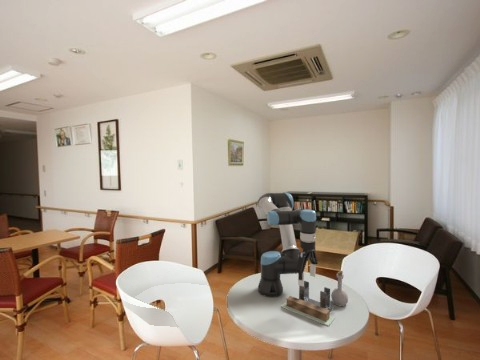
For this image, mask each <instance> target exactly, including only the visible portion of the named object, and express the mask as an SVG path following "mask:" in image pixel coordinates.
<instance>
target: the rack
mask: <svg viewBox="0 0 480 360" xmlns="http://www.w3.org/2000/svg"><path fill="white" fill-rule="evenodd" d="M298 290H299V291H298V299H300V300H303V301H306V302H308V303H311V304H314V305H316V306H319V307H322V308H325V309H327V310H330V312H331V311H332V310H333V309H334V306H332V305H331V288H330V287H326V286H324V288H323V290H320V292H319V301H318V300H315V299H312V298H310V281H306V280H304V286H300V285H298Z"/></svg>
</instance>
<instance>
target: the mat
mask: <svg viewBox="0 0 480 360" xmlns="http://www.w3.org/2000/svg"><path fill="white" fill-rule="evenodd" d="M280 307H281V308H283V309H286V310H288V311H289V312H293V313H295V314H297V315H300V316H303V317H304V318H306V319H307V318H308V319H310V320H312V321H315V322H317V323H319V324H322V325H324V326H326V327H330V326H331V324H333V322H334V321H335V319H336V317H334V316H331V315H330V318H329V319H328V321H327V322H325V321H323V320H320V319H318V318H315V317H313V316H310V315H308V314H305V313H303V312H300V311H298V310H295V309H293V308H291V307H288V306H286V301H285V302H283V304H281V306H280Z"/></svg>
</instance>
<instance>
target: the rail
mask: <svg viewBox="0 0 480 360" xmlns="http://www.w3.org/2000/svg"><path fill="white" fill-rule="evenodd" d="M285 302H286V306H288V307H291V308H293V309H295V310H298V311H300V312H303V313H305V314H308V315H310V316H313V317H315V318H318V319H320V320H323V321H325V322H327V321H328V319H329V318H330V316H331V315H330V313H331V311H330V310H327V309H325V308H322V307H319V306H316V305H314V304H311V303H308V302H306V301H303V300H300V299H299V297H298V298H297V297H295V296H292V295H289V296H288V297H287V298H286V301H285Z"/></svg>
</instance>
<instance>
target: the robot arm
mask: <svg viewBox="0 0 480 360" xmlns="http://www.w3.org/2000/svg"><path fill="white" fill-rule="evenodd" d="M294 203H295V202H294V198H293V196H292V194H290V193H289V192H267V193H264V194H263V195H261V196H260V197H259V199H258V200H257V206H258V208H259V209H260V210H261V211H262V212H264V213H265V215H266V222H267V224H268V226H278V227H279V232H280V239H281V244H282V250H281V252H280V251H276V250H269V251H266V252H263V253H262V255H261V257H260V279H259V283H258V286H257V291H258V293H259V295H261V296H263V297H266V298H267V297H269V298H276V297H280V296H282V295H283V294H284V293H283V292H284V286H283V284H282V281H281V275H293V274H295V275H297V274H298V276H297V277H298V278H297V280H298V281H297V284H298V286H299V285H300V286H304V281H305V273H304V272H305V269H306V266H307V262H308V261H309V262H310V264H309V265H310V266H309V276H310V277H314V278H315V277H316V265H318V263H319V262H318V260H319V259H318V257H317V256H318V255H317V252H316V237H317V235H316V233H317V231H316V227H317V225H316V224H317V213H316V211H315V210H314V209H313V210H312V209H301V208H297V209H294V206H295V205H294ZM293 209H294V210H293ZM293 225H299V226H300V229H299V230H300V232H299V235H300V236H299V238H300V240H299V247H300V248H298V247H297V242H296V236H295V231H294V226H293ZM300 249H301V250H302V252H301V250H300Z"/></svg>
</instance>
